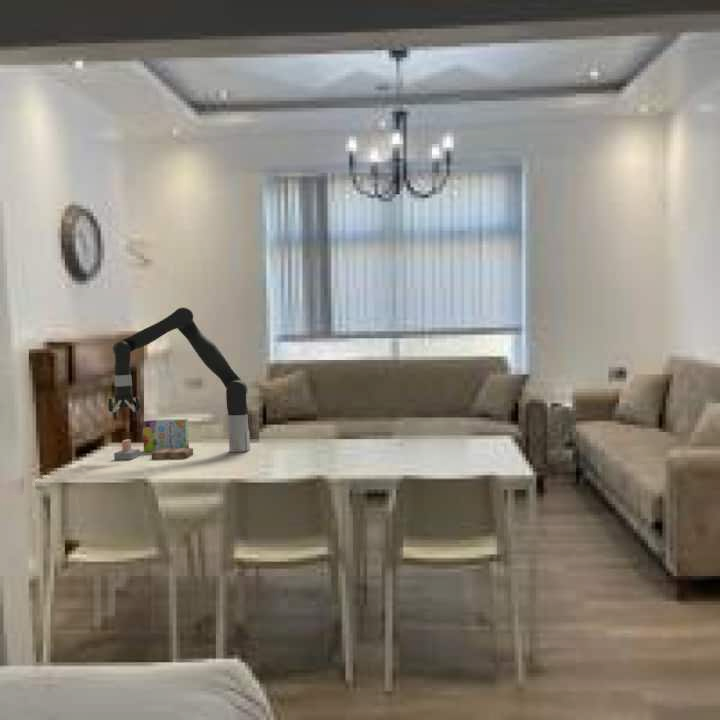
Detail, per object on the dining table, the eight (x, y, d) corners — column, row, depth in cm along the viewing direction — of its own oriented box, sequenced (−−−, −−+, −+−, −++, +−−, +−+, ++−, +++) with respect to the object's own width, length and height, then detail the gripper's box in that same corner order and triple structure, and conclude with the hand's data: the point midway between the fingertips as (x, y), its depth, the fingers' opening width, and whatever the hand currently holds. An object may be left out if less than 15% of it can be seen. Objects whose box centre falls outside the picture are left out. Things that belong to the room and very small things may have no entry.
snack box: (189, 449, 445) (188, 418, 444) (186, 450, 439) (185, 419, 438) (147, 449, 447) (145, 419, 446) (143, 451, 441) (141, 420, 440)
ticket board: (193, 454, 426) (192, 447, 426) (186, 458, 414) (186, 451, 414) (159, 455, 427) (158, 448, 427) (151, 459, 415) (151, 452, 415)
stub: (139, 455, 427) (138, 438, 427) (131, 459, 415) (130, 441, 415) (122, 455, 428) (122, 438, 428) (114, 459, 416) (113, 442, 416)
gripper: (141, 383, 423) (143, 418, 424) (110, 384, 424) (112, 419, 425) (136, 385, 416) (138, 420, 417) (105, 386, 417) (107, 421, 417)
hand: (125, 420), depth 421 cm, fingers open, 8 cm apart
